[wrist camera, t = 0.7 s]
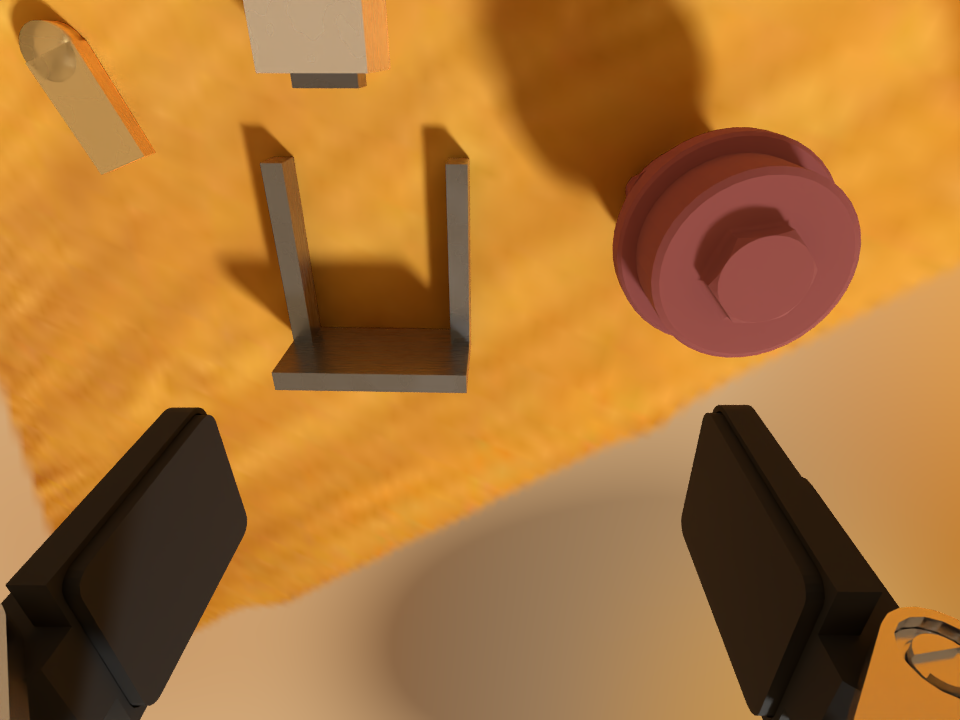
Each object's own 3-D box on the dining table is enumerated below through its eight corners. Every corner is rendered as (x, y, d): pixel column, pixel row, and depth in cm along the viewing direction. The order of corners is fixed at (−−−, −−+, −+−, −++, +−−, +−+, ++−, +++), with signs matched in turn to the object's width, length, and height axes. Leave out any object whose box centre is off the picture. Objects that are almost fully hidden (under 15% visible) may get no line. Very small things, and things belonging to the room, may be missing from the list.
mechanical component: (705, 303, 36) (564, 250, 34) (801, 150, 31) (642, 82, 29) (794, 414, 25) (595, 344, 23) (963, 206, 20) (725, 102, 19)
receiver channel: (273, 156, 32) (228, 178, 27) (469, 157, 31) (463, 180, 26) (306, 342, 38) (275, 389, 33) (470, 344, 38) (466, 393, 32)
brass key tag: (22, 34, 29) (5, 33, 28) (67, 10, 28) (51, 9, 27) (114, 170, 32) (101, 174, 31) (155, 152, 32) (144, 156, 31)
